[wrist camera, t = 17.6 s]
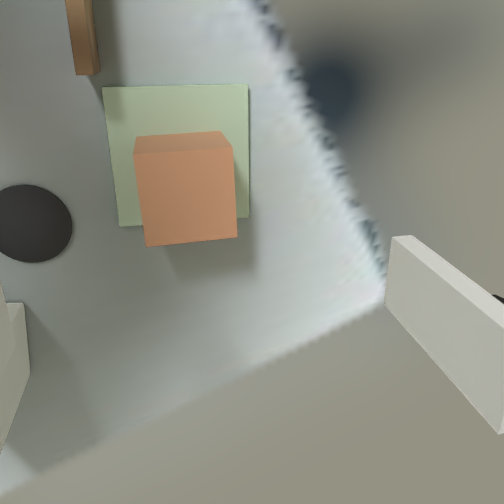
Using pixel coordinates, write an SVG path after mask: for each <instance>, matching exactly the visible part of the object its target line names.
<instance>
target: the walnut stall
mask: <svg viewBox="0 0 504 504" xmlns="http://www.w3.org/2000/svg"><path fill="white" fill-rule="evenodd" d="M65 4H66V11H67V18H68V24H69V31H70V38H71V44H72V51H73V58H74V64H75V71H76V75H94V74H96V73H98V72H100V64H99V56H98V48H97V40H96V33H95V25H94V17H93V10H92V2H91V0H65Z"/></svg>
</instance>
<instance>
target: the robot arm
mask: <svg viewBox="0 0 504 504" xmlns="http://www.w3.org/2000/svg"><path fill="white" fill-rule="evenodd" d="M384 305H385V306H386V307H387V308H388V309H389V310H390V312H391V313H392V314H393V315H394V316H395V317H396V318H397V319H398V321H399V322H400V323H401V324H402V325H403V326H404V327H405V329H406V330H407V331H408V332H409V333H410V334H411V335H412V336H413V338H414V339H415V340H416V341H417V342H418V343H419V344H420V346H421V347H422V348H423V349H424V350H425V351H426V353H427V354H428V355H429V356H430V357H431V358H432V359H433V360H434V362H435V363H436V364H437V365H438V366H439V367H440V368H441V370H442V371H443V372H444V373H445V374H446V375H447V376H448V377H449V379H450V380H451V381H452V382H453V383H454V384H455V386H456V387H457V388H458V389H459V390H460V391H461V393H462V394H463V395H464V396H465V397H466V398H467V399H468V400H469V402H470V403H471V404H472V405H473V406H474V407H475V408H476V410H477V411H478V412H479V413H480V414H481V415H482V416H483V418H484V419H485V420H486V421H487V422H488V423H489V424H490V426H491V427H492V428H493V429H494V430H495V431H496V432H497V434H504V298H501V297H499V296H497V295H491V294H489V293H488V292H487V291H485V290H484V289H483V288H481V287H480V286H479V285H477V284H476V283H475V282H473V281H472V280H471V279H469V278H468V277H467V276H465V275H464V274H463V273H461V272H460V271H459V270H457V269H456V268H455V267H453V266H452V265H451V264H449V263H448V262H447V261H445V260H444V259H443V258H441V257H440V256H439V255H437V254H436V253H435V252H434V251H432V250H431V249H429V248H428V247H427V246H426V245H424V244H423V243H422V242H420V241H419V240H417V239H416V238H415V237H413V236H412V235H410V236H398V237H392V242H391V250H390V258H389V265H388V273H387V281H386V289H385V297H384ZM15 346H16V340H15V336H14V332H13V329H12V325H11V321H10V317H9V313H8V309H7V305H6V301H5V297H4V293H3V289H2V286H1V282H0V379H1V377H2V375H3V373H4V370H5V368H6V366H7V364H8V362H9V359H10V357H11V355H12V353H13V350H14V348H15Z"/></svg>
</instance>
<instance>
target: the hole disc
mask: <svg viewBox="0 0 504 504" xmlns="http://www.w3.org/2000/svg"><path fill="white" fill-rule="evenodd" d="M71 233H72V221H71V217H70V214H69V212H68V210H67V208H66V206H65V205H64V204H63V202H62V201H61V200H60V199H59V198H58V197H56V196H55V195H54V194H52V193H51V192H49V191H47V190H45V189H43V188H40V187H36V186H32V185H16V186H11V187H8V188H6V189H3V190H2V191H0V252H2V253H3V254H5V255H6V256H8V257H10V258H13V259H15V260H18V261H23V262H42V261H46V260H49V259H51V258H53V257H55V256H57V255H58V254H59V253H60V252H61V251H62V250H63V249H64V248H65V247H66V245H67V244H68V242H69V240H70V237H71Z"/></svg>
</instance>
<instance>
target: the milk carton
mask: <svg viewBox="0 0 504 504" xmlns="http://www.w3.org/2000/svg"><path fill="white" fill-rule="evenodd" d="M6 305H7V309H8V313H9V317H10V321H11V325H12V329H13V332H14V336H15V340H16V346H15V348H14V350H13V353H12V355H11V357H10V359H9V362H8V364H7V366H6V368H5V370H4V373H3V375H2V377H1V379H0V454H1V451H2V448H3V446H4V443H5V440H6V438H7V435H8V432H9V430H10V427H11V424H12V422H13V419H14V416H15V414H16V411H17V408H18V406H19V403H20V401H21V398H22V395H23V393H24V390H25V387H26V385H27V382H28V379H29V376H30V362H29V352H28V341H27V330H26V320H25V309H24V304H23V303H6Z"/></svg>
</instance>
